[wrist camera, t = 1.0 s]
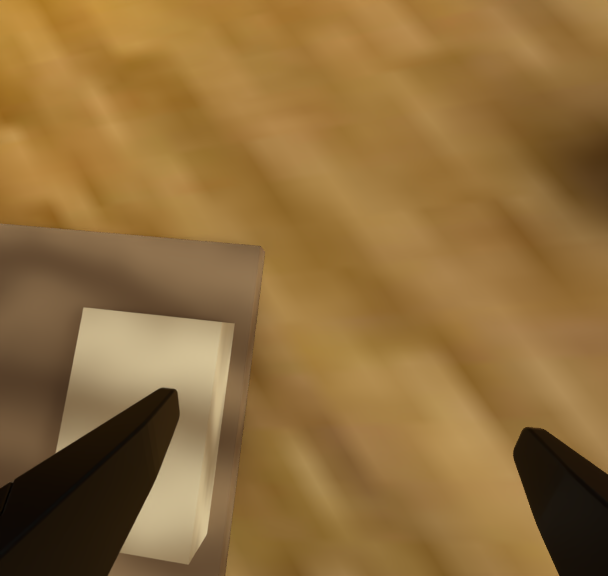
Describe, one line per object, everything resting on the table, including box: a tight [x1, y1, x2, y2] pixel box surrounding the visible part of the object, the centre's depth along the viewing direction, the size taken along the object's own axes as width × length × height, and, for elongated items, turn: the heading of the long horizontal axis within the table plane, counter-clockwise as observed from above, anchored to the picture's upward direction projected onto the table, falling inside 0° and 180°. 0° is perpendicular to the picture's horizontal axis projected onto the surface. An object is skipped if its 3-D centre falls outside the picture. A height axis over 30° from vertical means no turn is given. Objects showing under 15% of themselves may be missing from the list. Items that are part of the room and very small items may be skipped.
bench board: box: [0, 224, 265, 576], centre depth 19 cm, size 22×22×5 cm
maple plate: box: [56, 307, 235, 565], centre depth 19 cm, size 12×8×2 cm, turn 174°
